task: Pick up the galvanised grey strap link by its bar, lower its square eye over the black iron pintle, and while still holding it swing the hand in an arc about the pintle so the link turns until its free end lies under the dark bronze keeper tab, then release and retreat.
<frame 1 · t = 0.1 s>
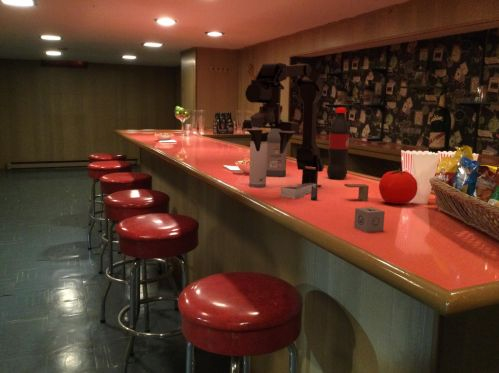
hand: (269, 152, 150), 15 cm above the countertop, fingers open, 9 cm apart
cola bottle: (336, 179, 197), on the countertop
liquor: (274, 175, 200), on the countertop
link: (311, 191, 164), on the countertop
dice cube: (368, 230, 114), on the countertop
keeper: (355, 199, 151), on the countertop
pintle: (313, 199, 149), on the countertop
travel mug: (257, 186, 172), on the countertop
tomato: (396, 204, 147), on the countertop
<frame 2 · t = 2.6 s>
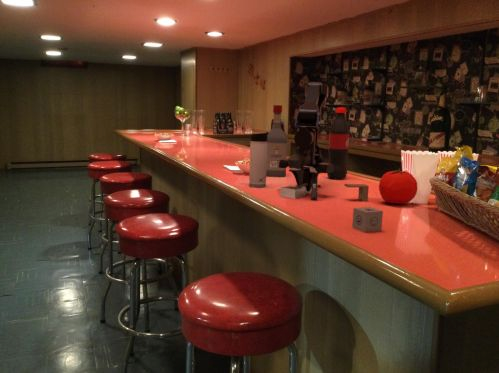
hand: (304, 190, 159), 1 cm above the countertop, fingers closed on link, 3 cm apart
link: (311, 191, 164), on the countertop, touching gripper
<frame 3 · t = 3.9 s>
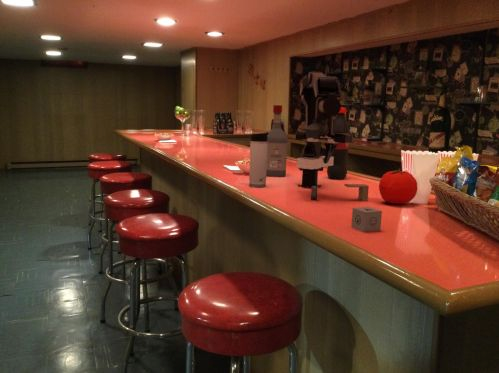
hand: (321, 163, 154), 11 cm above the countertop, fingers closed on link, 3 cm apart
link: (329, 164, 158), point 10 cm above the countertop, touching gripper
everything else where it was.
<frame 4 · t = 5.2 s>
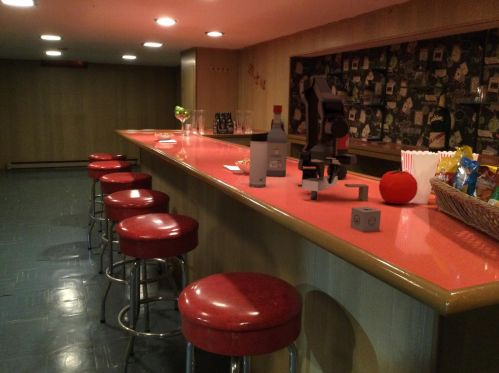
hand: (325, 183, 154), 5 cm above the countertop, fingers closed on link, 3 cm apart
link: (333, 184, 159), point 4 cm above the countertop, touching gripper
everything else where it was.
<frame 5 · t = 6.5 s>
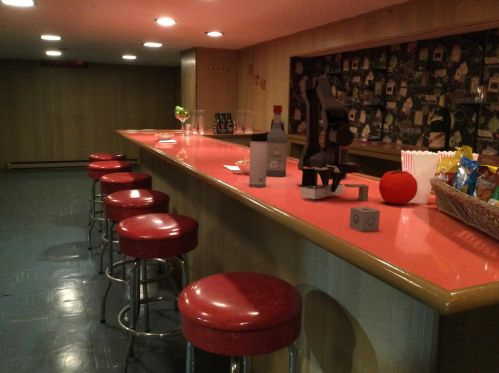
hand: (329, 191, 154), 2 cm above the countertop, fingers closed on link, 3 cm apart
link: (339, 192, 157), point 1 cm above the countertop, touching gripper
when the fingers open (2 cm above the countertop, at t = 7.8 s): link stays where it is, on the countertop.
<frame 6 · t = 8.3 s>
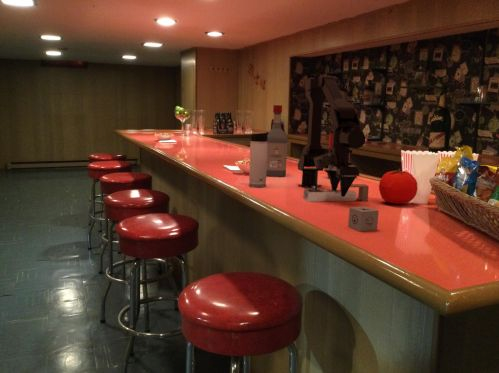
hand: (338, 193, 150), 2 cm above the countertop, fingers open, 8 cm apart
link: (353, 199, 151), on the countertop
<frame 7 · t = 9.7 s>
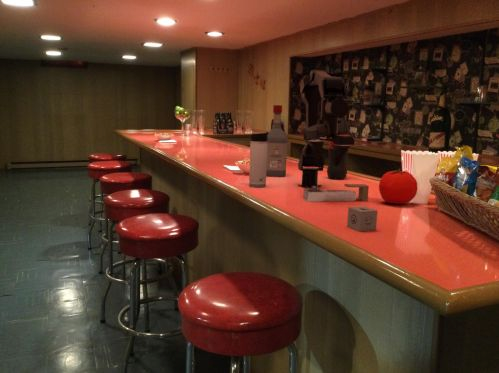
hand: (326, 164, 153), 11 cm above the countertop, fingers open, 9 cm apart
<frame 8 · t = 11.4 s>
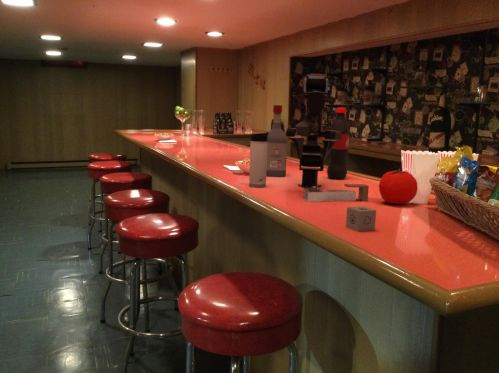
hand: (311, 159, 157), 12 cm above the countertop, fingers open, 9 cm apart
at the end: link 0.6 cm from the target spot on the countertop beside the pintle, on the countertop; link 0.5 cm from the keeper (horizontally); link tilted 0° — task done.
